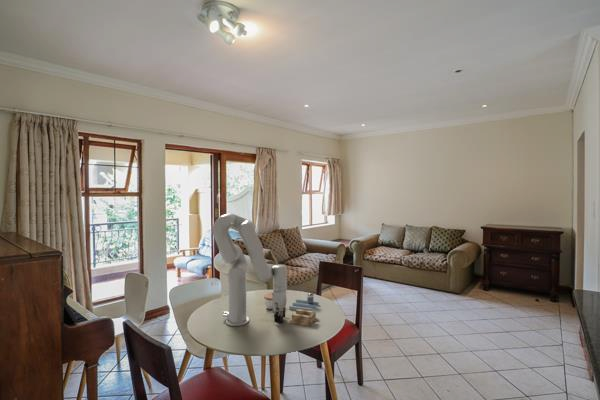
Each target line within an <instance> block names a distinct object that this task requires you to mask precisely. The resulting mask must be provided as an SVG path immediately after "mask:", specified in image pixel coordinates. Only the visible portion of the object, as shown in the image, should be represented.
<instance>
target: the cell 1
mask: <svg viewBox="0 0 600 400" xmlns="http://www.w3.org/2000/svg"><path fill="white" fill-rule="evenodd" d="M277 309H279V308H277ZM276 311H277V310H276ZM277 312H278V311H277ZM283 322H284V317H283V308H282V309H281V310H280V323H279V324H283Z"/></svg>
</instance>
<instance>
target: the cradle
mask: <svg viewBox="0 0 600 400" xmlns="http://www.w3.org/2000/svg"><path fill="white" fill-rule="evenodd" d="M316 312H317V311H315V312H314V311H307V310H300V309H297V310H295V313H292V314H291V319H290V321H289V324H292V325H293V324H295V325H300V326H306V327H312V325H313V324H314V322H315V320H316V318H317V315H316V314H317V313H316ZM298 313H300V314H307V315H310V316H306V315H299V314H298Z"/></svg>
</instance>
